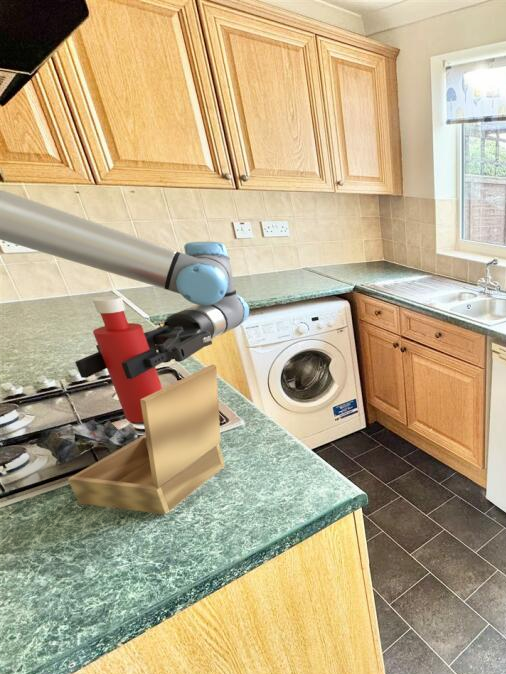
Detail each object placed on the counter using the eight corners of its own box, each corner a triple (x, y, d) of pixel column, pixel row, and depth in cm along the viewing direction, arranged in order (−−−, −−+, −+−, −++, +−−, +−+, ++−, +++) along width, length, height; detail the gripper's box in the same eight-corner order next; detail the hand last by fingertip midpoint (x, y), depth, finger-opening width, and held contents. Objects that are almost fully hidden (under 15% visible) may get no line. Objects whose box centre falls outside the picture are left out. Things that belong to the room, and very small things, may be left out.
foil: (104, 467, 74) (31, 416, 73) (102, 498, 80) (35, 451, 79) (168, 431, 84) (105, 386, 83) (162, 461, 90) (103, 419, 89)
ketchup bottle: (116, 420, 73) (69, 301, 64) (148, 404, 78) (108, 292, 69) (148, 424, 72) (105, 304, 63) (177, 407, 77) (141, 295, 69)
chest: (80, 506, 70) (67, 479, 68) (152, 460, 83) (143, 435, 80) (167, 517, 69) (156, 489, 67) (226, 468, 81) (219, 443, 79)
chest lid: (139, 399, 60) (145, 400, 60) (211, 364, 72) (216, 365, 72) (153, 487, 67) (158, 488, 67) (216, 441, 79) (221, 442, 79)
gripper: (246, 345, 89) (174, 393, 68) (152, 342, 88) (48, 390, 67) (239, 310, 86) (160, 350, 65) (140, 307, 84) (28, 346, 64)
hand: (104, 370), depth 66 cm, fingers closed on ketchup bottle, 6 cm apart
